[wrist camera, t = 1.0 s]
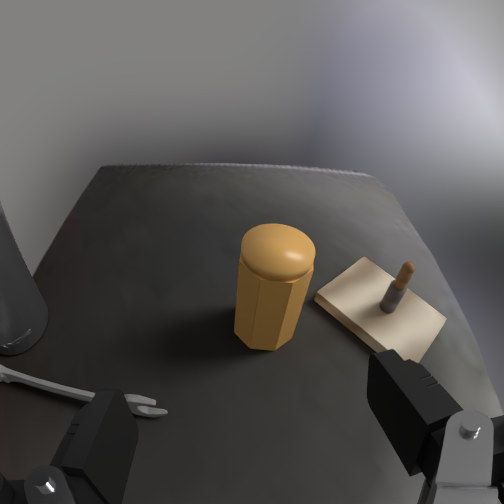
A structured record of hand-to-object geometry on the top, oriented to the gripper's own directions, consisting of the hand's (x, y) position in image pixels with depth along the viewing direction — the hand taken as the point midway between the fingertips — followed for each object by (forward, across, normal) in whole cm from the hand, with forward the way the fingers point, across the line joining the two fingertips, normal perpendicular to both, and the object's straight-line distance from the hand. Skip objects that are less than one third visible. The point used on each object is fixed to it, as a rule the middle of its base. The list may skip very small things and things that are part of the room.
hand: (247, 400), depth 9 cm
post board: (+24, -16, +11) cm, 31 cm away
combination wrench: (+14, +18, +11) cm, 25 cm away
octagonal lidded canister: (+22, -2, +9) cm, 24 cm away
